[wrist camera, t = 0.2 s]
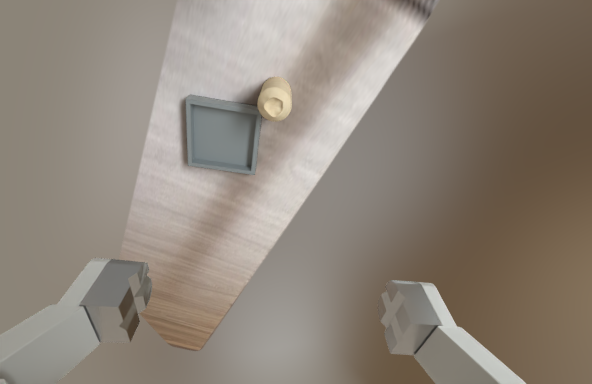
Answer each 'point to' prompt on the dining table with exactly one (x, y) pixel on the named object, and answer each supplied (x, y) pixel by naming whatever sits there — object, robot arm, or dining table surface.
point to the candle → (275, 99)
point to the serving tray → (222, 134)
